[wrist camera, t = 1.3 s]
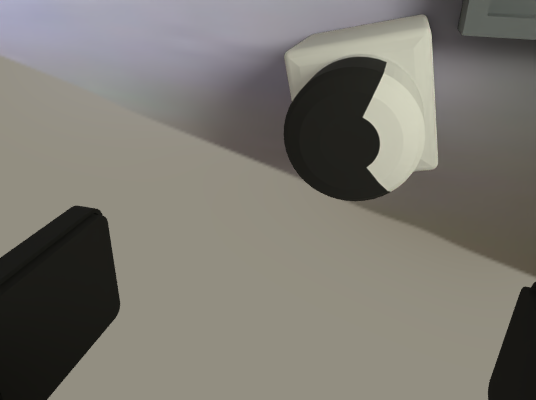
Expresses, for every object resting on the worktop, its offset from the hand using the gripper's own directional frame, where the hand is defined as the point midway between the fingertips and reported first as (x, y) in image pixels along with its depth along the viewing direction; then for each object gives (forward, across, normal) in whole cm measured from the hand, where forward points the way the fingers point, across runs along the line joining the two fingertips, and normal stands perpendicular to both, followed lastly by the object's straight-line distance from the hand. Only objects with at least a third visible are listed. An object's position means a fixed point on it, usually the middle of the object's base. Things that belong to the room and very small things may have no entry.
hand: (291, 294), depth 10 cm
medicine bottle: (+22, 0, 0) cm, 23 cm away
